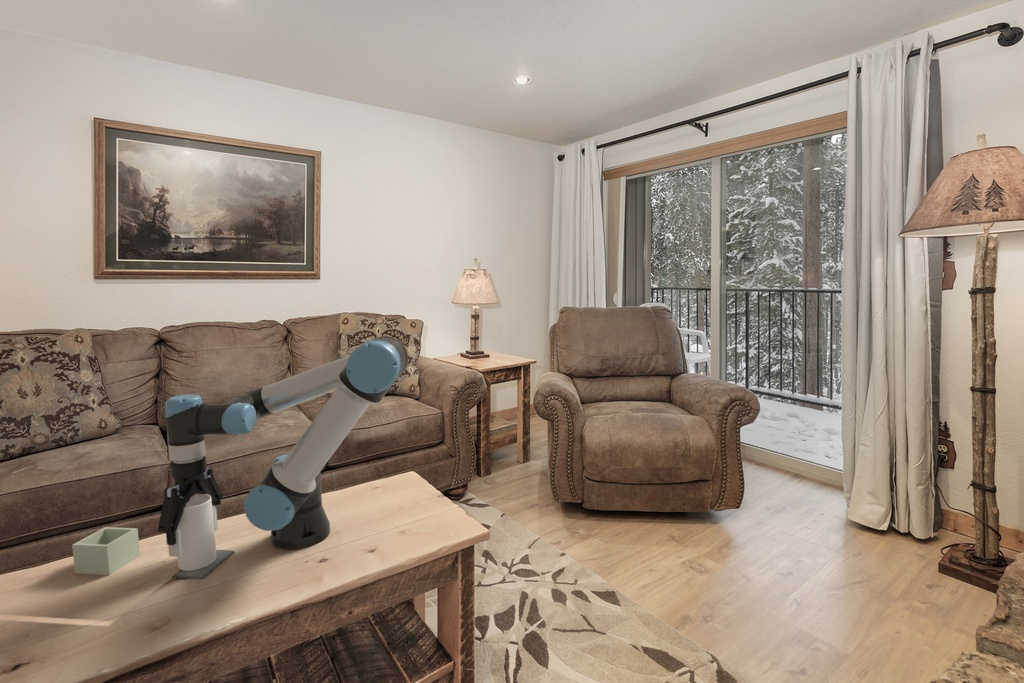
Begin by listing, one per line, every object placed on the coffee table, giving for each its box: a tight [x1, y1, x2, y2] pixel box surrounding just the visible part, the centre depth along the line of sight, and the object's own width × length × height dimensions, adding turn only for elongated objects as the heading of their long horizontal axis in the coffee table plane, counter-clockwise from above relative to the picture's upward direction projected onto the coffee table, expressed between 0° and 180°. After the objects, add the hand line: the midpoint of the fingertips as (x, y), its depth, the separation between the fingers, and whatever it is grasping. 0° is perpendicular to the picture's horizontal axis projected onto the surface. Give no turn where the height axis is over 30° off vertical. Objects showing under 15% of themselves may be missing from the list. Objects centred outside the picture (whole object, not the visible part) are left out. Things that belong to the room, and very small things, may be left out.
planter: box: [71, 526, 141, 576], centre depth 128 cm, size 9×9×8 cm
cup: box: [176, 494, 217, 571], centre depth 128 cm, size 8×8×16 cm
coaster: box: [171, 549, 235, 580], centre depth 129 cm, size 12×12×1 cm
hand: (194, 542), depth 129 cm, fingers open, 12 cm apart
